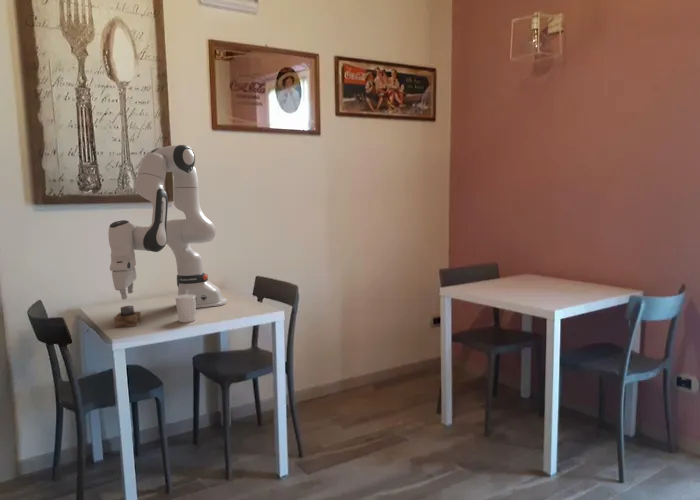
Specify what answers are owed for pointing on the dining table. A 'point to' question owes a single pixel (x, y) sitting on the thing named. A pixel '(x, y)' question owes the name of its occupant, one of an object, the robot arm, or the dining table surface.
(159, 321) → the dining table surface
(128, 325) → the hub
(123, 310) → the knob
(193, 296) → the white cup
